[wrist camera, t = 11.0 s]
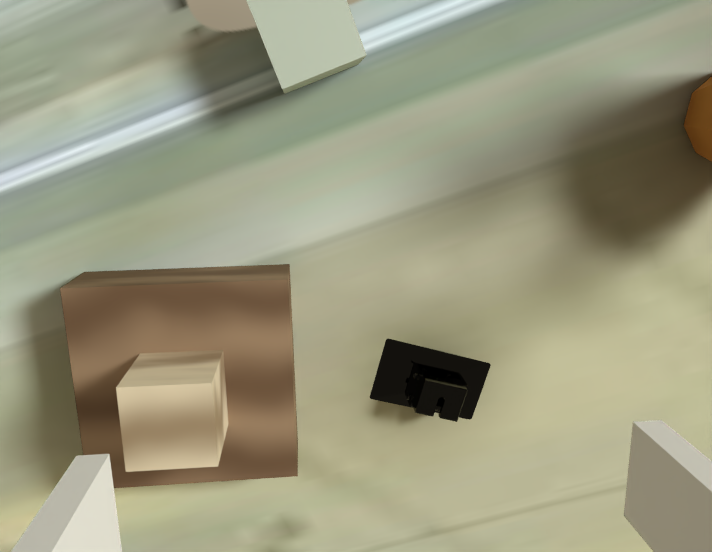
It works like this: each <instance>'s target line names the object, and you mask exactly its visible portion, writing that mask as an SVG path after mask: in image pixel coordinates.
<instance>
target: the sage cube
mask: <svg viewBox="0 0 712 552" xmlns="http://www.w3.org/2000/svg"><path fill="white" fill-rule="evenodd" d="M247 3H248V5H249V8H250V10H251V13H252V15H253V18H254V20H255V23H256V25H257V28H258V30H259V33H260V35H261V38H262V40H263V43H264V45H265V48H266V50H267V53H268V55H269V58H270V60H271V63H272V65H273V68H274V70H275V73H276V75H277V78H278V80H279V83H280V85H281V88H282V90H283V92H284V94H286V93H288V92H291V91H293V90H296V89H298V88H301V87H303V86H306V85H308V84H311V83H313V82H316V81H318V80H321V79H323V78H326V77H328V76H331V75H333V74H336V73H338V72H341V71H343V70H345V69H348V68H350V67H353V66H355V65H358V64H359V63H360V62H361V61H362V60H363V59H364V58H365V57H366V53H365V50H364V47H363V44H362V41H361V39H360V36H359V33H358V30H357V28H356V25H355V22H354V19H353V16H352V14H351V11H350V8H349V5H348V3H347V0H247Z"/></svg>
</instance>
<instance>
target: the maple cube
mask: <svg viewBox="0 0 712 552" xmlns="http://www.w3.org/2000/svg"><path fill="white" fill-rule="evenodd" d="M116 392H117V400H118V409H119V418H120V426H121V435H122V444H123V452H124V461H125V470H126V472H133V471H150V470H167V469H184V468H202V467H218V465H219V461H220V456H221V452H222V448H223V444H224V440H225V436H226V432H227V428H228V411H227V397H226V382H225V368H224V353H223V350H213V351H189V352H166V353H142V354H139V356H138V357H137V359H136V360H135V362H134V363H133V364H132V366H131V367H130V369H129V370H128V371H127V373H126V374H125V376H124V377H123V378H122V380H121V381H120V383H119V384H118V385H117V387H116Z"/></svg>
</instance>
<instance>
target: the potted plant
mask: <svg viewBox="0 0 712 552" xmlns="http://www.w3.org/2000/svg"><path fill="white" fill-rule="evenodd" d="M684 128H685V130H686V132H687V134H688V137H689V139H690V141H691V143H692V146H693V148H694V150H695V153H697V154H699V155H701V156H702V157H704V158H706V159H708V160H710V161H711V162H712V76H711V77H710V78H709V79H708V80H707V81H706V82H704V83H703V84H702V85H701V86H700V87H699V88H697V89H696V90H695V91H694V92H693V93H692V95H691V99H690V103H689V106H688V110H687V114H686V118H685V122H684Z"/></svg>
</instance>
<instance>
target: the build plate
mask: <svg viewBox="0 0 712 552" xmlns="http://www.w3.org/2000/svg"><path fill="white" fill-rule="evenodd" d="M489 368H490V364H489V363H486V362H482V361H478V360H474V359H469V358H465V357H461V356H457V355H453V354H449V353H445V352H441V351H437V350H433V349H429V348H424V347H420V346H416V345H412V344H408V343H404V342H400V341H396V340H392V339H387V340H386V342H385V345H384V349H383V352H382V356H381V360H380V363H379V367H378V370H377V374H376V377H375V381H374V384H373V388H372V391H371V395H370V398H371V399H374V400H379V401H384V402H388V403H393V404H398V405H403V406H408V407H412V408H414V410H415V413H419V414H424V415H428V416H433V415H434V412H436V413H439V417H440V418H442V419H447V420H452V421H456V422H457V420H458V417H460V418H465V419H471V418H472V416H473V413H474V411H475V408H476V405H477V402H478V399H479V396H480V394H481V391H482V388H483V385H484V382H485V380H486V377H487V374H488V371H489Z"/></svg>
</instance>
